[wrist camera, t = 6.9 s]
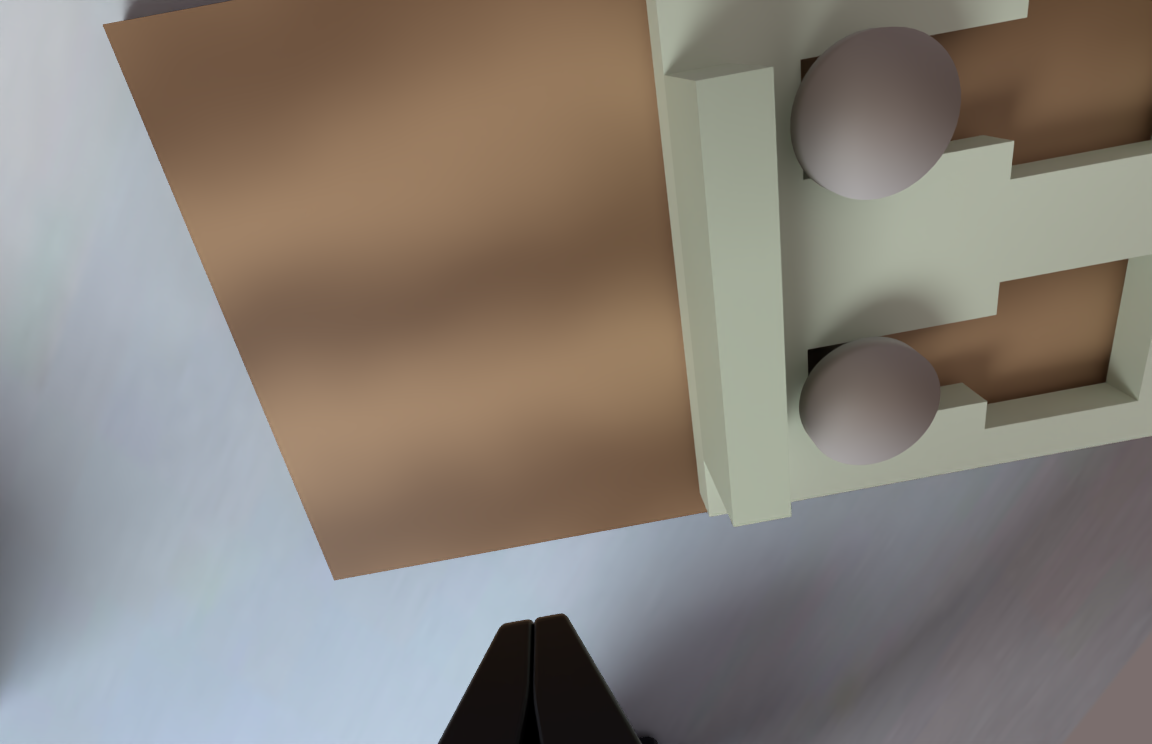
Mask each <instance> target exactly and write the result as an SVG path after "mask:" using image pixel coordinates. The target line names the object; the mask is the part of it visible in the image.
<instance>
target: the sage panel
mask: <svg viewBox="0 0 1152 744" xmlns="http://www.w3.org/2000/svg"><path fill="white" fill-rule="evenodd" d="M646 4H647V14H648V23H649V32H650V41H651V50H652V59H653V68H654V78H655V87H656V96H657V105H658V114H659V123H660V132H661V142H662V151H663V160H664V169H665V178H666V187H667V196H668V206H669V215H670V224H671V233H672V242H673V251H674V261H675V270H676V279H677V288H678V297H679V306H680V315H681V325H682V334H683V343H684V352H685V361H686V370H687V379H688V389H689V398H690V407H691V416H692V425H693V434H694V444H695V453H696V462H697V471H698V480H699V489H700V494H701V497H702V499H703V502H704V504H705V507H706V509H707V512H708V514H709V517H712V516H718V515H723V514H728V515H729V517H730V520H731V522H732V524H733V526H734V527H737V526H743V525H748V524H754V523H759V522H764V521H770V520H775V519H781V518H786V517H791V502H794V501H799V500H805V499H810V498H816V497H821V496H827V495H832V494H838V493H843V492H848V491H854V490H859V489H865V488H870V487H876V486H881V485H887V484H892V483H897V482H903V481H908V480H914V479H919V478H925V477H930V476H936V475H941V474H947V473H952V472H957V471H963V470H968V469H974V468H979V467H985V466H990V465H996V464H1001V463H1007V462H1012V461H1017V460H1023V459H1028V458H1034V457H1039V456H1045V455H1050V454H1056V453H1061V452H1067V451H1072V450H1077V449H1083V448H1088V447H1094V446H1099V445H1105V444H1110V443H1116V442H1121V441H1127V440H1132V439H1137V438H1143V437H1148V436H1152V135H1151V140H1147V141H1142V142H1137V143H1131V144H1126V145H1121V146H1115V147H1110V148H1104V149H1099V150H1094V151H1088V152H1083V153H1077V154H1072V155H1067V156H1061V157H1056V158H1050V159H1045V160H1040V161H1034V162H1029V163H1023V164H1018V165H1013V166H1012V159H1013V149H1014V141H1013V140H1007V139H1002V138H997V137H991V136H986V135H980V136H975V137H970V138H964V139H959V140H953V141H950V142H949V144H948V147H947V148H946V150H945V151H944V153H943V154H942V156H941V157H940V159H939V160H938V161H937V163H936V164H935V165H934V166H933V167H932V168H931V169H930V170H929V171H928V172H927V173H926V174H925V175H924V176H923V177H922V178H921V179H919V180H918V181H917V182H915V183H914V184H913V185H911V186H910V187H908V188H906V189H904V190H902V191H900V192H898V193H896V194H893V195H891V196H888V197H884V198H880V199H872V200H857V199H851V198H847V197H844V196H841V195H838V194H836V193H834V192H832V191H830V190H828V189H826V188H824V187H822V186H820V185H819V184H817V183H816V182H814V181H813V180H812V179H811V178H810V177H809V176H808V175H807V174H806V173H805V171H804V170H803V169H802V167H801V166H800V164H799V162H798V160H797V158H796V155H795V153H794V150H793V146H792V142H791V133H790V118H791V112H792V106H793V103H794V99H795V96H796V93H797V91H798V88H799V86H800V84H801V62H800V60H801V59H807V58H812V57H817V56H820V55H821V54H823V53H824V52H825V51H826V50H827V49H828V48H829V47H831V46H832V45H833V44H835V43H836V42H837V41H839V40H841V39H843V38H844V37H846V36H848V35H850V34H853V33H855V32H858V31H862V30H865V29H870V28H879V27H907V28H912V29H916V30H919V31H921V32H924V33H926V34H928V35H929V36H930V35H935V34H941V33H946V32H951V31H957V30H962V29H967V28H973V27H978V26H984V25H989V24H994V23H1000V22H1005V21H1010V20H1016V19H1021V18H1026V17H1027V14H1028V4H1029V0H646ZM1128 258H1129V259H1128ZM1123 259H1128V265H1127V270H1126V275H1125V281H1124V286H1123V292H1122V297H1121V302H1120V308H1119V313H1118V319H1117V324H1116V329H1115V335H1114V340H1113V345H1112V351H1111V356H1110V362H1109V367H1108V372H1107V378H1106V382H1105V383H1099V384H1094V385H1089V386H1083V387H1078V388H1072V389H1067V390H1061V391H1056V392H1050V393H1045V394H1040V395H1034V396H1029V397H1023V398H1018V399H1012V400H1007V401H1001V402H996V403H991V404H987V401H986V400H985V399H983V398H982V397H981V396H979V395H978V394H977V393H975V392H974V391H973V390H972V389H970V388H969V387H968V386H966V385H965V384H964V383H957V384H952V385H946V386H941V387H940V403H939V407H938V410H937V413H936V415H935V418H934V420H933V421H932V423H931V425H930V426H929V428H928V429H927V431H926V432H925V433H924V434H923V435H922V437H921V438H920V439H919V440H918V441H917V442H916V443H914V444H913V445H912V446H911V447H909V448H908V449H907V450H905V451H904V452H902V453H900V454H899V455H897V456H895V457H893V458H891V459H888V460H885V461H882V462H879V463H875V464H868V465H850V464H845V463H841V462H838V461H835V460H833V459H831V458H830V457H828V456H826V455H825V454H824V453H822V452H821V451H820V450H819V448H818V447H817V446H816V445H815V443H814V442H813V441H812V439H811V438H810V437H809V435H808V434H807V432H806V431H805V429H804V427H803V425H802V423H801V419H800V414H799V400H800V395H801V391H802V388H803V385H804V383H805V381H806V379H807V377H808V349H814V348H819V347H824V346H830V345H835V344H841V343H846V342H851V341H854V340H857V339H861V338H866V337H879V336H884V335H890V334H895V333H900V332H906V331H911V330H917V329H922V328H928V327H933V326H938V325H944V324H949V323H955V322H960V321H965V320H971V319H976V318H982V317H987V316H993V315H996V313H997V303H998V294H999V284H1000V282H1004V281H1009V280H1015V279H1020V278H1025V277H1031V276H1036V275H1042V274H1047V273H1053V272H1058V271H1063V270H1069V269H1074V268H1080V267H1085V266H1090V265H1096V264H1101V263H1107V262H1112V261H1118V260H1123Z"/></svg>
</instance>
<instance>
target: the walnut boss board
mask: <svg viewBox="0 0 1152 744" xmlns="http://www.w3.org/2000/svg"><path fill="white" fill-rule="evenodd" d="M103 27H104V29H105V32H106V34H107V36H108V39H109V41H110V44H111V46H112V48H113V51H114V53H115V56H116V58H117V60H118V63H119V65H120V67H121V70H122V72H123V75H124V77H125V79H126V82H127V84H128V87H129V89H130V91H131V94H132V96H133V99H134V101H135V103H136V106H137V108H138V111H139V113H140V115H141V118H142V120H143V123H144V125H145V127H146V130H147V132H148V135H149V137H150V139H151V142H152V144H153V147H154V149H155V151H156V154H157V156H158V159H159V161H160V163H161V166H162V168H163V171H164V173H165V175H166V178H167V180H168V183H169V185H170V187H171V190H172V192H173V195H174V197H175V199H176V202H177V204H178V207H179V209H180V211H181V214H182V216H183V219H184V221H185V223H186V226H187V228H188V231H189V233H190V235H191V238H192V240H193V243H194V245H195V247H196V250H197V252H198V255H199V257H200V259H201V262H202V264H203V267H204V269H205V271H206V274H207V276H208V279H209V281H210V283H211V286H212V288H213V291H214V293H215V295H216V298H217V300H218V302H219V305H220V307H221V310H222V312H223V314H224V317H225V319H226V322H227V324H228V326H229V329H230V331H231V334H232V336H233V338H234V341H235V343H236V346H237V348H238V350H239V353H240V355H241V358H242V360H243V362H244V365H245V367H246V370H247V372H248V374H249V377H250V379H251V382H252V384H253V386H254V389H255V391H256V394H257V396H258V398H259V401H260V403H261V406H262V408H263V410H264V413H265V415H266V418H267V420H268V422H269V425H270V427H271V430H272V432H273V434H274V437H275V439H276V442H277V444H278V446H279V449H280V451H281V454H282V456H283V458H284V461H285V463H286V466H287V468H288V470H289V473H290V475H291V478H292V480H293V482H294V485H295V487H296V490H297V492H298V494H299V497H300V499H301V502H302V504H303V506H304V509H305V511H306V514H307V516H308V518H309V521H310V523H311V526H312V528H313V530H314V533H315V535H316V538H317V540H318V542H319V545H320V547H321V549H322V552H323V554H324V557H325V559H326V561H327V564H328V566H329V569H330V571H331V573H332V576H333V578H334V580H338V579H344V578H349V577H355V576H360V575H366V574H371V573H377V572H382V571H388V570H393V569H398V568H404V567H409V566H415V565H420V564H426V563H431V562H437V561H442V560H448V559H453V558H458V557H464V556H469V555H475V554H480V553H486V552H491V551H497V550H502V549H508V548H513V547H518V546H524V545H529V544H535V543H540V542H546V541H551V540H557V539H562V538H567V537H573V536H578V535H584V534H589V533H595V532H600V531H606V530H611V529H617V528H622V527H627V526H633V525H638V524H644V523H649V522H655V521H660V520H666V519H671V518H677V517H682V516H687V515H693V514H698V513H704V512H707V509H706V507H705V504H704V502H703V499H702V497H701V494H700V489H699V480H698V471H697V462H696V453H695V444H694V434H693V425H692V416H691V407H690V398H689V389H688V379H687V370H686V361H685V352H684V343H683V334H682V325H681V315H680V306H679V297H678V288H677V279H676V270H675V261H674V251H673V242H672V233H671V224H670V215H669V206H668V196H667V187H666V178H665V169H664V160H663V151H662V142H661V132H660V123H659V114H658V105H657V96H656V87H655V78H654V68H653V59H652V50H651V41H650V32H649V23H648V14H647V4H646V0H231V1H226V2H221V3H215V4H210V5H205V6H199V7H194V8H189V9H183V10H178V11H173V12H167V13H162V14H157V15H151V16H146V17H141V18H135V19H130V20H125V21H119V22H114V23H109V24H103ZM800 62H801V84H800V86H799V88H798V91H797V93H796V96H795V99H794V103H793V106H792V112H791V118H790V133H791V142H792V146H793V150H794V153H795V155H796V158H797V160H798V162H799V164H800V166H801V167H802V169H803V170H804V171H805V173H806V174H807V175H808V176H809V177H810V178H811V179H812V180H813V181H814V182H816V183H817V184H819V185H820V186H822V187H824V188H826V189H828V190H830V191H832V192H834V193H836V194H838V195H841V196H844V197H847V198H851V199H857V200H872V199H880V198H884V197H888V196H891V195H893V194H896V193H898V192H900V191H902V190H904V189H906V188H908V187H910V186H911V185H913V184H914V183H915V182H917V181H918V180H919V179H921V178H922V177H923V176H924V175H925V174H926V173H927V172H928V171H929V170H930V169H931V168H932V167H933V166H934V165H935V164H936V163H937V161H938V160H939V159H940V157H941V156H942V154H943V153H944V151H945V150H946V148H947V147H948V144H949V142H950V141H953V140H959V139H964V138H970V137H975V136H980V135H986V136H991V137H997V138H1002V139H1007V140H1013V141H1014V149H1013V159H1012V166H1013V165H1018V164H1023V163H1029V162H1034V161H1040V160H1045V159H1050V158H1056V157H1061V156H1067V155H1072V154H1077V153H1083V152H1088V151H1094V150H1099V149H1104V148H1110V147H1115V146H1121V145H1126V144H1131V143H1137V142H1142V141H1147V140H1151V135H1152V0H1029V4H1028V14H1027V17H1026V18H1021V19H1016V20H1010V21H1005V22H1000V23H994V24H989V25H984V26H978V27H973V28H967V29H962V30H957V31H951V32H946V33H941V34H935V35H930V36H929V35H928V34H926V33H924V32H921V31H919V30H916V29H912V28H907V27H879V28H870V29H865V30H862V31H858V32H855V33H853V34H850V35H848V36H846V37H844V38H843V39H841V40H839V41H837V42H836V43H835V44H833V45H832V46H831V47H829V48H828V49H827V50H826V51H825V52H824V53H823V54H821V55H820V56H817V57H812V58H807V59H801V60H800ZM1128 259H1129V258H1128ZM1128 259H1123V260H1118V261H1112V262H1107V263H1101V264H1096V265H1090V266H1085V267H1080V268H1074V269H1069V270H1063V271H1058V272H1053V273H1047V274H1042V275H1036V276H1031V277H1025V278H1020V279H1015V280H1009V281H1004V282H1000V284H999V294H998V303H997V313H996V315H993V316H987V317H982V318H976V319H971V320H965V321H960V322H955V323H949V324H944V325H938V326H933V327H928V328H922V329H917V330H911V331H906V332H900V333H895V334H890V335H884V336H879V337H866V338H861V339H857V340H854V341H851V342H846V343H841V344H835V345H830V346H824V347H819V348H814V349H808V377H807V379H806V381H805V383H804V385H803V388H802V391H801V395H800V400H799V414H800V419H801V423H802V425H803V427H804V429H805V431H806V432H807V434H808V435H809V437H810V438H811V439H812V441H813V442H814V443H815V445H816V446H817V447H818V448H819V450H820V451H821V452H822V453H824V454H825V455H826V456H828V457H830V458H831V459H833V460H835V461H838V462H841V463H845V464H850V465H868V464H875V463H879V462H882V461H885V460H888V459H891V458H893V457H895V456H897V455H899V454H900V453H902V452H904V451H905V450H907V449H908V448H909V447H911V446H912V445H913V444H914V443H916V442H917V441H918V440H919V439H920V438H921V437H922V435H923V434H924V433H925V432H926V431H927V429H928V428H929V426H930V425H931V423H932V421H933V420H934V418H935V415H936V413H937V410H938V407H939V403H940V387H941V386H946V385H952V384H957V383H964V384H965V385H966V386H968V387H969V388H970V389H972V390H973V391H974V392H975V393H977V394H978V395H979V396H981V397H982V398H983V399H985V400H986V401H987V404H991V403H996V402H1001V401H1007V400H1012V399H1018V398H1023V397H1029V396H1034V395H1040V394H1045V393H1050V392H1056V391H1061V390H1067V389H1072V388H1078V387H1083V386H1089V385H1094V384H1099V383H1105V382H1106V378H1107V372H1108V367H1109V362H1110V356H1111V351H1112V345H1113V340H1114V335H1115V329H1116V324H1117V319H1118V313H1119V308H1120V302H1121V297H1122V292H1123V286H1124V281H1125V275H1126V270H1127V265H1128Z"/></svg>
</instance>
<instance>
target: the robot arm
mask: <svg viewBox="0 0 1152 744" xmlns="http://www.w3.org/2000/svg"><path fill="white" fill-rule="evenodd" d="M438 744H658V743H657V741H656V740H655V739H654V738H650V737H643V738H638V736H637V734H636V733H635V731H634V729H633V728H632V726H631V724H630V722H629V721H628V719H627V717H626V716H625V714H624V712H623V711H622V709H621V707H620V705H619V704H618V702H617V700H616V699H615V697H614V695H613V694H612V692H611V690H610V688H609V687H608V685H607V683H606V682H605V680H604V678H603V676H602V675H601V673H600V671H599V670H598V668H597V666H596V665H595V663H594V661H593V659H592V658H591V656H590V654H589V653H588V651H587V649H586V647H585V646H584V644H583V642H582V641H581V639H580V637H579V636H578V634H577V632H576V630H575V629H574V627H573V625H572V624H571V622H570V620H569V619H568V617H567V616H566V615H565V614H555V615H550V616H544V617H539V618H537V619H536V620H535V622H533V621H531V620H522V621H516V622H510V623H505V624H503V625H502V626H501V627H500V628H499V630H498V632H497V633H496V635H495V637H494V639H493V641H492V643H491V645H490V647H489V648H488V650H487V652H486V654H485V656H484V658H483V660H482V662H481V664H480V665H479V667H478V669H477V671H476V673H475V675H474V677H473V679H472V680H471V682H470V684H469V686H468V688H467V690H466V692H465V694H464V696H463V697H462V699H461V701H460V703H459V705H458V707H457V709H456V711H455V712H454V714H453V716H452V718H451V720H450V722H449V724H448V726H447V727H446V729H445V731H444V733H443V735H442V737H441V739H440V741H439V743H438Z"/></svg>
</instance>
